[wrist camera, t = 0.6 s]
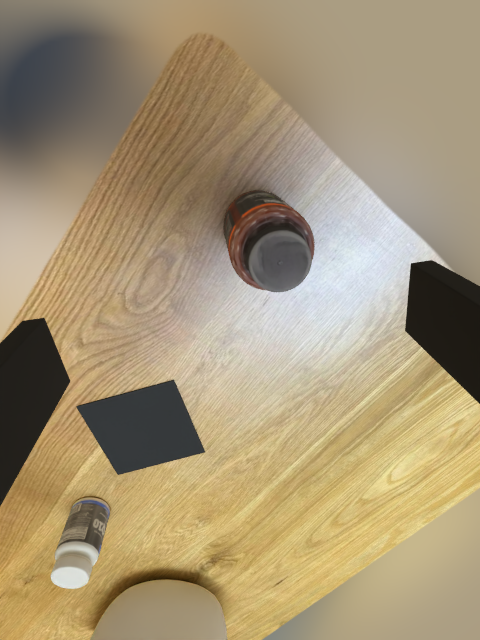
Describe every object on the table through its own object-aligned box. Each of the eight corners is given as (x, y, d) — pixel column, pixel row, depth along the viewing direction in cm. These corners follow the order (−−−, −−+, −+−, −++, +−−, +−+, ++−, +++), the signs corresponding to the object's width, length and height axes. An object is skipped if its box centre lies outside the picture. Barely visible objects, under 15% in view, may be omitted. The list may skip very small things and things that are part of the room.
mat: (76, 406, 40) (76, 406, 40) (173, 380, 39) (173, 380, 39) (118, 474, 45) (117, 474, 45) (204, 451, 44) (204, 452, 44)
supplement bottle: (240, 267, 34) (254, 322, 24) (211, 208, 32) (213, 242, 22) (299, 239, 34) (339, 283, 23) (274, 176, 31) (307, 195, 21)
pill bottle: (114, 518, 48) (97, 588, 41) (77, 522, 48) (54, 594, 41) (105, 493, 46) (86, 563, 39) (67, 498, 46) (40, 568, 38)
